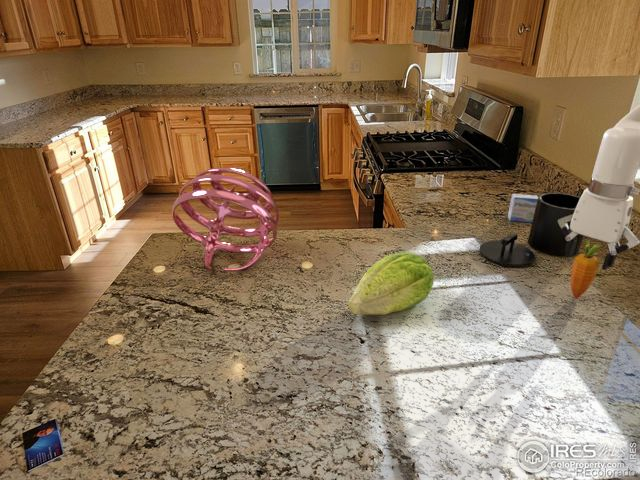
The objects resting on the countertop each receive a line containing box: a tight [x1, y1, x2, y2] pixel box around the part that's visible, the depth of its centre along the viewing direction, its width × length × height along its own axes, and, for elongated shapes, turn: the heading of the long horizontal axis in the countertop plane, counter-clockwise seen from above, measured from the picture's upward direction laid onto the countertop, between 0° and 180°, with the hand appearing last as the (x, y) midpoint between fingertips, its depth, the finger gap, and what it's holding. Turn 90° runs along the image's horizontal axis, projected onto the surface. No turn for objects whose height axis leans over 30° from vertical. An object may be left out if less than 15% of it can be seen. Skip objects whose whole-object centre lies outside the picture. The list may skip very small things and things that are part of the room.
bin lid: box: [478, 232, 536, 267], centre depth 121 cm, size 15×15×6 cm
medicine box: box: [507, 193, 539, 224], centre depth 143 cm, size 8×4×9 cm, turn 76°
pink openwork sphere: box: [171, 167, 280, 273], centre depth 114 cm, size 28×28×27 cm
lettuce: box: [347, 252, 435, 316], centre depth 97 cm, size 13×22×14 cm
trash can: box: [527, 192, 584, 258], centre depth 124 cm, size 14×14×14 cm
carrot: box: [570, 240, 602, 299], centre depth 99 cm, size 5×5×15 cm
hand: (587, 260), depth 98 cm, fingers open, 7 cm apart
